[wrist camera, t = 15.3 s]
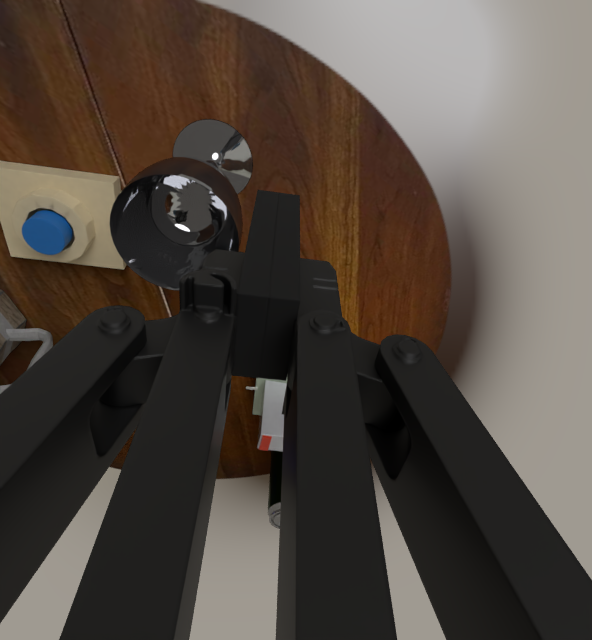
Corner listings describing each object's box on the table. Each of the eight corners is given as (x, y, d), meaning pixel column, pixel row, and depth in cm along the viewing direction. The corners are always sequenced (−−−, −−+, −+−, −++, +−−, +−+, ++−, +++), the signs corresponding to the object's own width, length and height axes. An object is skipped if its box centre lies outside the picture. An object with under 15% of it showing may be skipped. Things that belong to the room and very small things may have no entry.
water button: (69, 212, 38) (60, 220, 37) (76, 248, 40) (68, 257, 39) (27, 207, 38) (16, 215, 36) (36, 243, 40) (26, 252, 39)
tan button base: (119, 176, 39) (105, 190, 36) (129, 261, 45) (118, 279, 42) (-6, 159, 38) (-30, 172, 36) (19, 248, 44) (0, 265, 41)
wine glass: (154, 173, 39) (91, 253, 27) (191, 93, 35) (137, 145, 23) (230, 219, 42) (204, 309, 30) (274, 149, 38) (263, 221, 26)
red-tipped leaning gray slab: (345, 392, 53) (351, 448, 46) (339, 405, 54) (344, 462, 48) (265, 379, 52) (260, 435, 45) (261, 394, 53) (256, 450, 47)
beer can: (281, 424, 61) (278, 505, 51) (315, 435, 62) (318, 515, 53) (266, 445, 64) (260, 525, 54) (298, 455, 65) (298, 534, 56)
